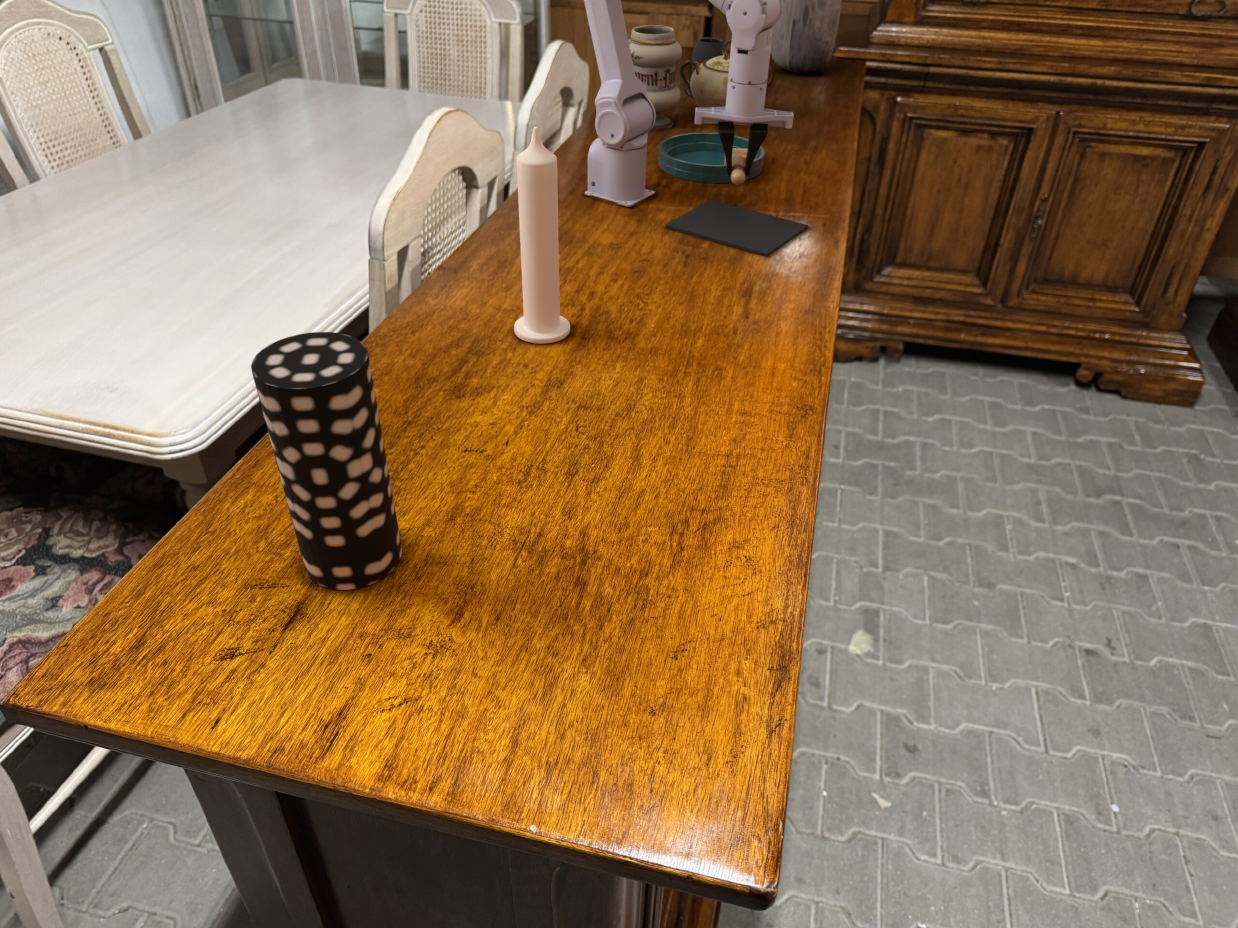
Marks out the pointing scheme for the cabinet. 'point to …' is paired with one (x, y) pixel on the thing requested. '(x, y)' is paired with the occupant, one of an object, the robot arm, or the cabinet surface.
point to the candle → (539, 245)
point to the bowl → (702, 157)
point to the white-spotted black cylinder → (330, 456)
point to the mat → (738, 227)
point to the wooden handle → (738, 165)
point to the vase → (805, 34)
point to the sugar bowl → (712, 79)
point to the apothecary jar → (657, 67)
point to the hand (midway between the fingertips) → (737, 173)
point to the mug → (706, 50)
